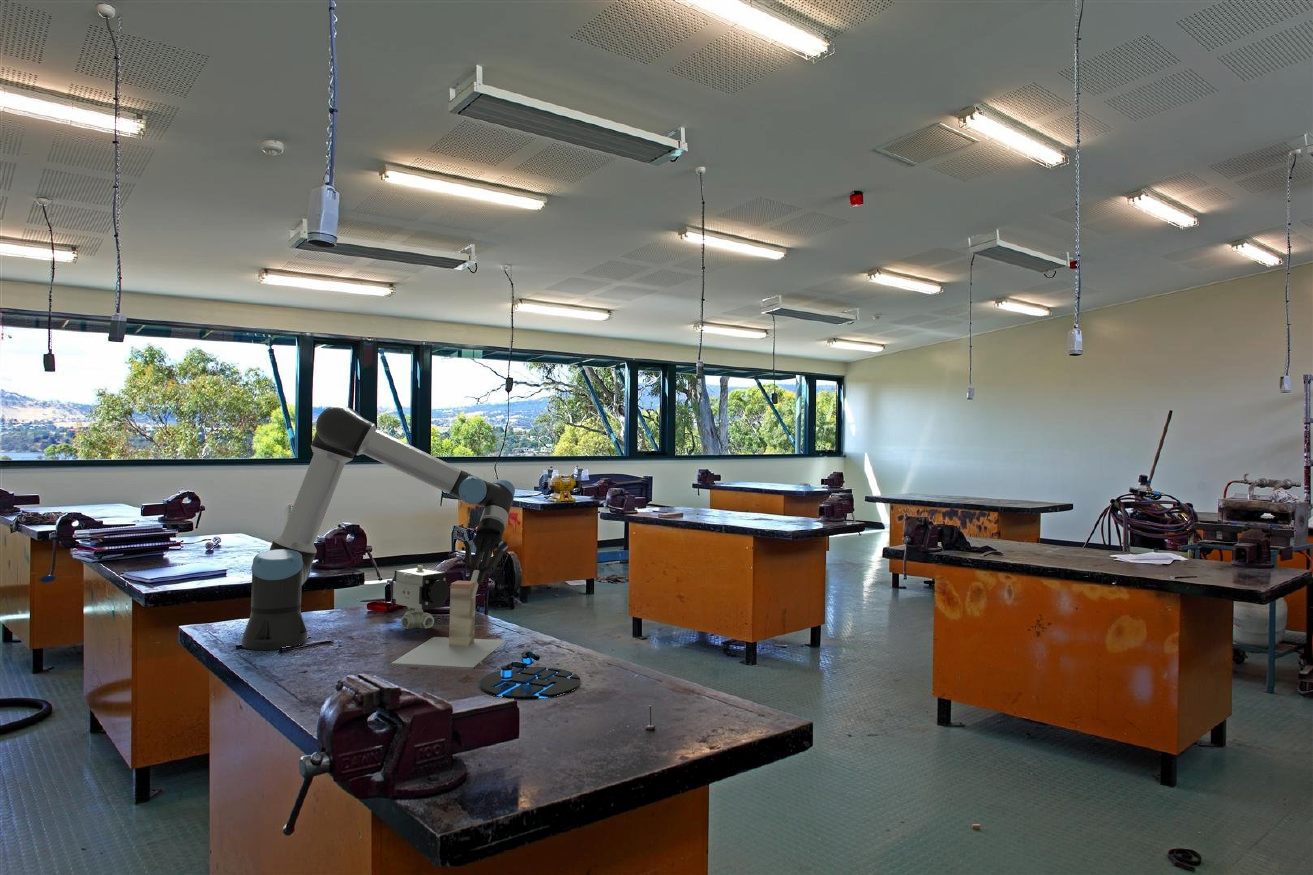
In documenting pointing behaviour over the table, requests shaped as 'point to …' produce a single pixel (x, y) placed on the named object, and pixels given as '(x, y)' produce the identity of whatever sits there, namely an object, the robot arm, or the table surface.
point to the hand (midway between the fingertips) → (471, 592)
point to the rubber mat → (448, 654)
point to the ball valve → (419, 594)
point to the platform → (528, 680)
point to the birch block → (462, 613)
